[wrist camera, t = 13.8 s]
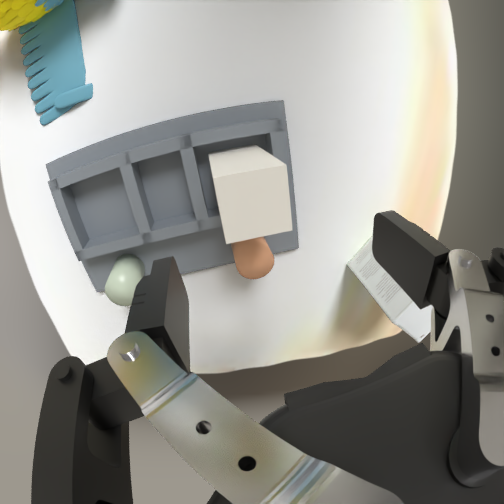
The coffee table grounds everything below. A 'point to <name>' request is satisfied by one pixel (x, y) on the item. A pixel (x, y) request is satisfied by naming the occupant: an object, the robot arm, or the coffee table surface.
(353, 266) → the small box
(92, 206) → the grey compartment tray
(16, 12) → the blue yellow plastic figure
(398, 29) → the coffee table surface
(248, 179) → the plug
